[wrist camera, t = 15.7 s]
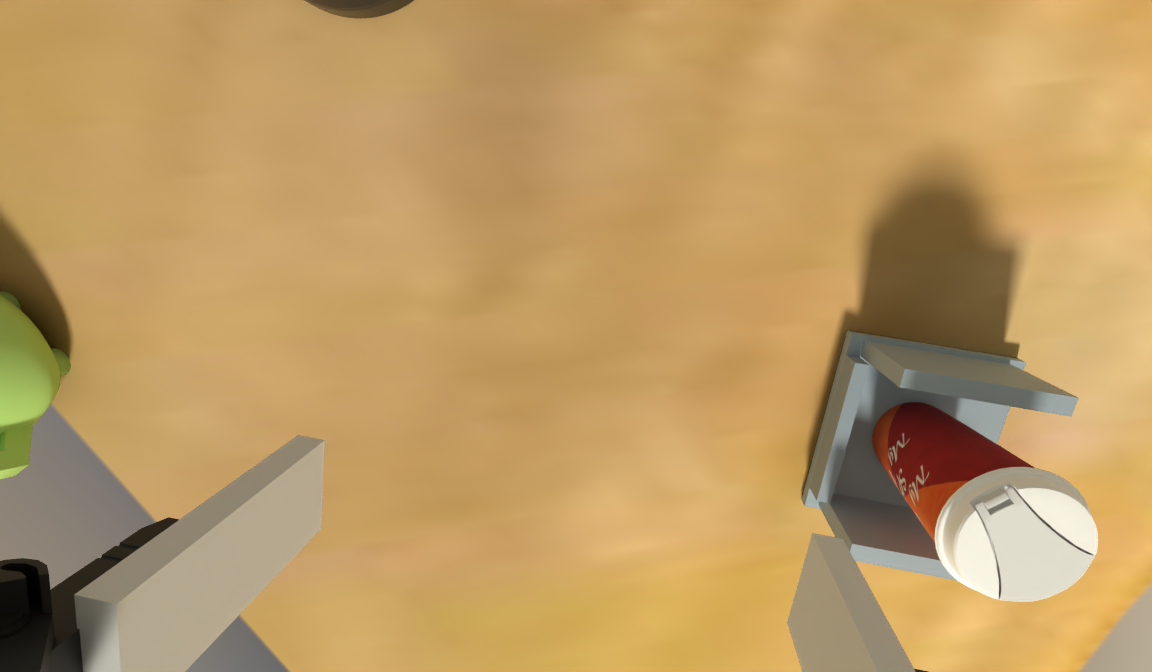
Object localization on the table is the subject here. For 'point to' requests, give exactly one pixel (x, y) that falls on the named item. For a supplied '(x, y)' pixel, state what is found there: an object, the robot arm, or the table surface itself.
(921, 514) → the paper cup
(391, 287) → the table surface
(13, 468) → the teapot
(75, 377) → the table surface
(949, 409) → the holder
